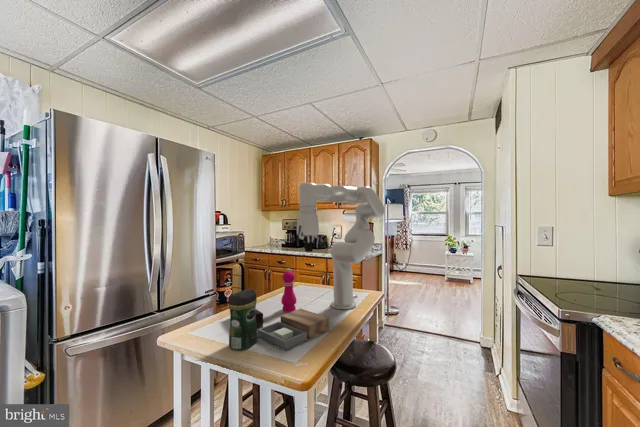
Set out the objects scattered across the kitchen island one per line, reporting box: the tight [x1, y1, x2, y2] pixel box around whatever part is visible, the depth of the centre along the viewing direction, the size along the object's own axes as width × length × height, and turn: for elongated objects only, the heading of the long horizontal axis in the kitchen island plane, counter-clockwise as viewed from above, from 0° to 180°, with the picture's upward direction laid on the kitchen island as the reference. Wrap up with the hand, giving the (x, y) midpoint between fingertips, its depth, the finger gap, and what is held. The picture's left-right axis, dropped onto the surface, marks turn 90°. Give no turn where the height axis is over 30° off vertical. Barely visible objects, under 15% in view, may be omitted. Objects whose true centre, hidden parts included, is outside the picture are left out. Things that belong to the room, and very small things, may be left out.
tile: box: [274, 328, 293, 340], centre depth 98 cm, size 5×5×2 cm
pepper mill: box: [280, 267, 297, 313], centre depth 129 cm, size 7×7×20 cm
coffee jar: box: [227, 288, 259, 351], centre depth 94 cm, size 10×8×19 cm
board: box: [280, 308, 330, 341], centre depth 106 cm, size 11×16×5 cm
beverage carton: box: [256, 308, 264, 329], centre depth 113 cm, size 8×19×7 cm, turn 35°
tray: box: [257, 321, 308, 352], centre depth 97 cm, size 10×16×3 cm, turn 47°
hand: (308, 251), depth 120 cm, fingers closed
